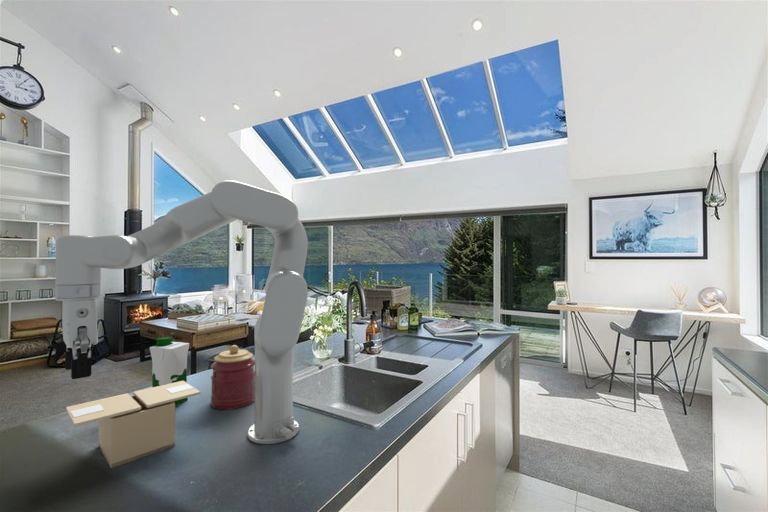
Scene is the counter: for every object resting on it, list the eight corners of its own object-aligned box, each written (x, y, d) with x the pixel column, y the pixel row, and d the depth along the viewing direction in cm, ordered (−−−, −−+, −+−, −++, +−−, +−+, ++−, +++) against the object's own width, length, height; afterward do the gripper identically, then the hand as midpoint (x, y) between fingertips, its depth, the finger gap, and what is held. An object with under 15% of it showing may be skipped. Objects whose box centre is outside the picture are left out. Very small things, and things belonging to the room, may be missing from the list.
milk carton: (168, 396, 118) (168, 334, 118) (192, 398, 116) (193, 336, 116) (145, 407, 109) (146, 340, 109) (171, 410, 107) (172, 342, 107)
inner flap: (200, 394, 92) (200, 391, 92) (147, 407, 83) (147, 404, 83) (183, 382, 100) (183, 380, 100) (133, 394, 92) (133, 391, 92)
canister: (238, 412, 106) (238, 352, 106) (200, 407, 110) (201, 348, 110) (263, 396, 119) (264, 342, 119) (229, 392, 122) (230, 339, 122)
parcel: (174, 446, 87) (175, 403, 87) (111, 468, 78) (111, 420, 78) (157, 428, 96) (157, 389, 96) (98, 446, 87) (98, 403, 87)
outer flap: (141, 409, 83) (141, 406, 83) (74, 426, 74) (74, 423, 74) (127, 395, 91) (127, 392, 91) (66, 409, 82) (66, 406, 82)
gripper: (108, 294, 76) (108, 378, 76) (92, 288, 88) (92, 361, 88) (60, 297, 71) (60, 387, 71) (50, 290, 82) (50, 368, 82)
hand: (77, 372), depth 79 cm, fingers open, 8 cm apart
